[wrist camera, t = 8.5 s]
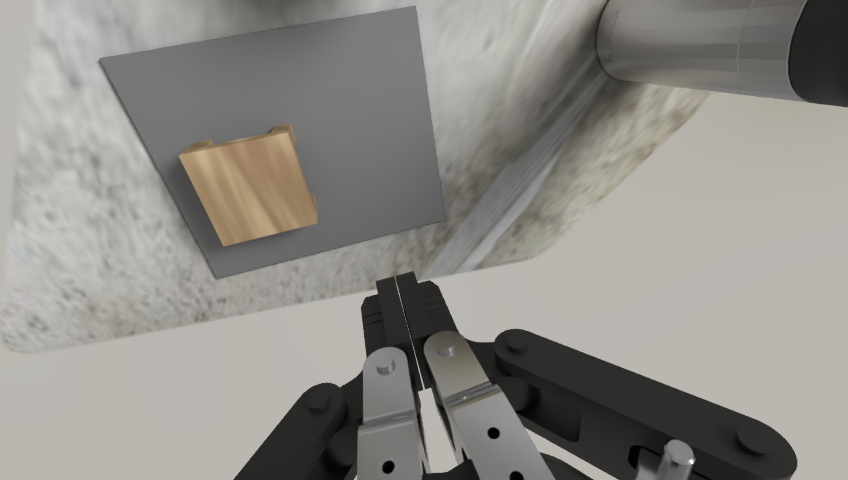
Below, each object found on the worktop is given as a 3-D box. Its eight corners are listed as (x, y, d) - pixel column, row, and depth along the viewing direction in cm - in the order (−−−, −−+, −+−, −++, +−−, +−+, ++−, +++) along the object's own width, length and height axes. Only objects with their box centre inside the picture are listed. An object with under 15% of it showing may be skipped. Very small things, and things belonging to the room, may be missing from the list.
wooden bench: (287, 132, 29) (178, 155, 27) (317, 223, 33) (223, 246, 31) (290, 123, 32) (193, 143, 31) (317, 206, 36) (232, 226, 35)
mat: (414, 6, 31) (415, 5, 30) (444, 218, 41) (445, 219, 40) (101, 58, 27) (99, 58, 27) (217, 276, 37) (216, 279, 37)
